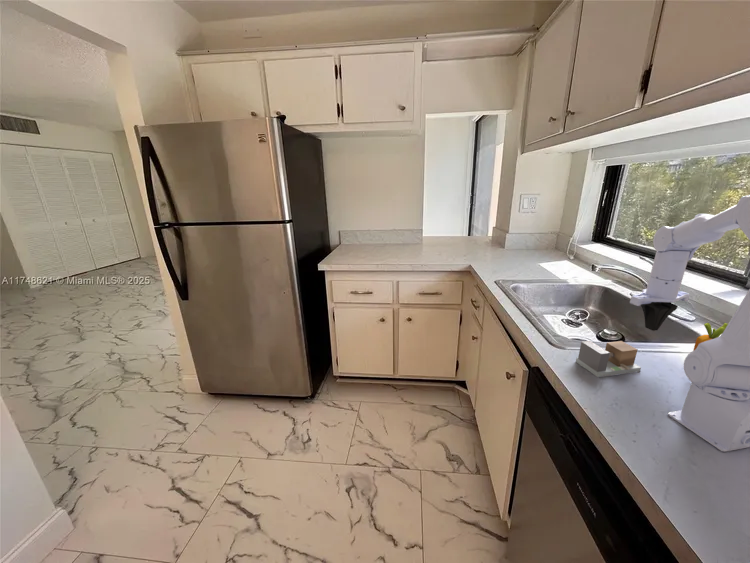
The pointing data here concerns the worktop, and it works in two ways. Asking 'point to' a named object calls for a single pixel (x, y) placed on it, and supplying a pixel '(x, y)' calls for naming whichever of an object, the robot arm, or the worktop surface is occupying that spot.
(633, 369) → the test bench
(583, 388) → the worktop surface
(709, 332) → the carrot
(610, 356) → the block
